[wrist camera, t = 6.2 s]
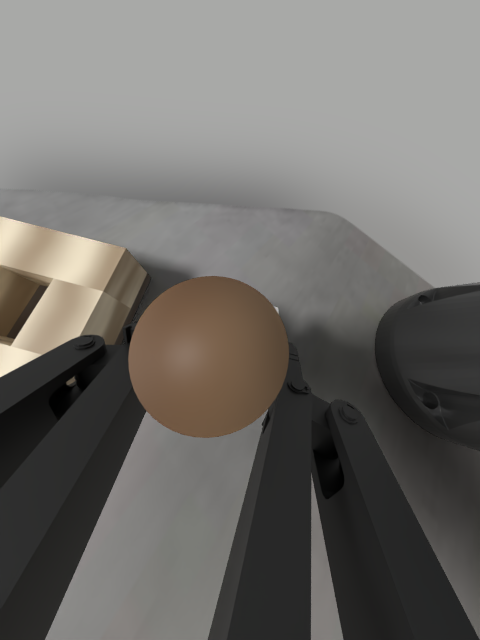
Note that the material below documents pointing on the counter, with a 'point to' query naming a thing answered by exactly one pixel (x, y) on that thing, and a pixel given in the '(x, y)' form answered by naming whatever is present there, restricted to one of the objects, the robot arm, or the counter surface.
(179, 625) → the counter surface
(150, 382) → the walnut peg
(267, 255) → the counter surface
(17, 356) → the socket block
